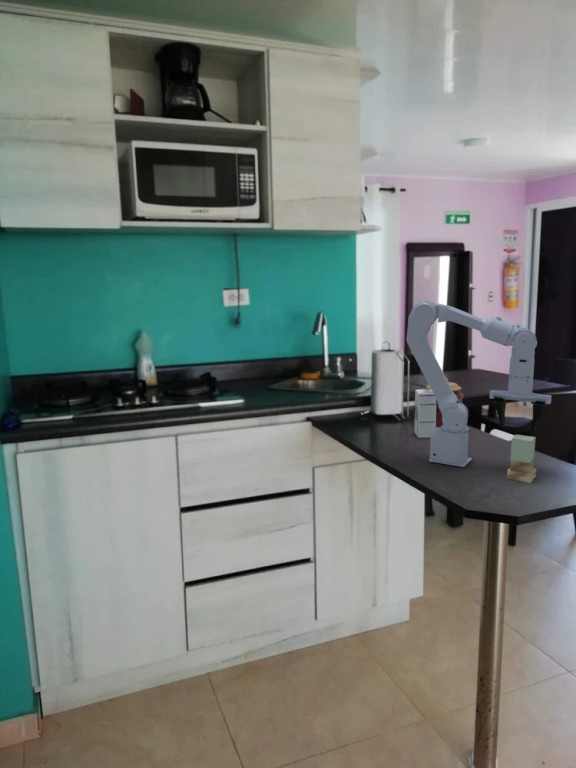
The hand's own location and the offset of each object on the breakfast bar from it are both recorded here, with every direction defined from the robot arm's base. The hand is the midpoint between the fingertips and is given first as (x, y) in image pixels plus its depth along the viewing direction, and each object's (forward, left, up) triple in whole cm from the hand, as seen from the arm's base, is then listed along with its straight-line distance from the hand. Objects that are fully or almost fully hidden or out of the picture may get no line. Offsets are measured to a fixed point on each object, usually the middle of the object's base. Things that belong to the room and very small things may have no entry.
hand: (517, 428), depth 145 cm
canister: (-29, +29, -11) cm, 42 cm away
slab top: (+3, -8, -8) cm, 12 cm away
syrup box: (-31, +18, -11) cm, 37 cm away
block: (+3, -8, -6) cm, 10 cm away
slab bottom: (+3, -8, -11) cm, 14 cm away
